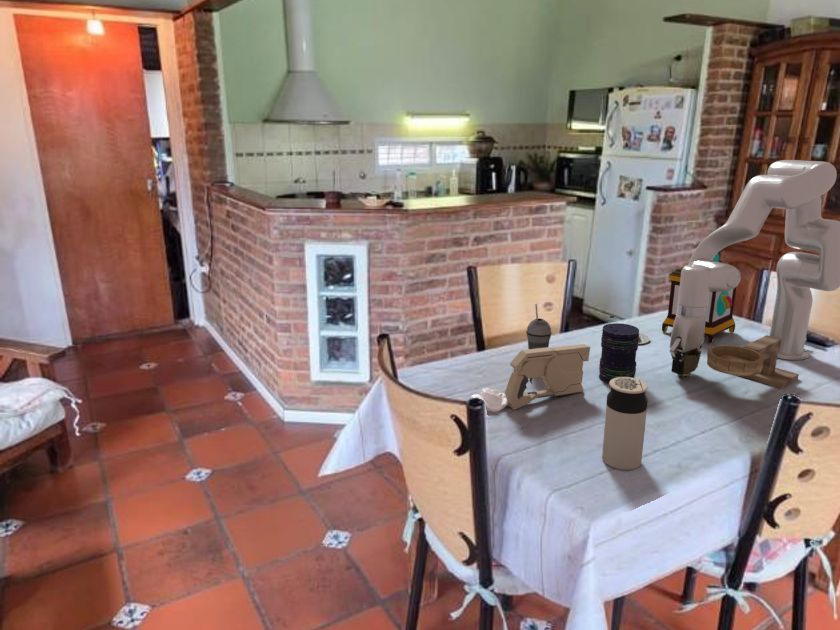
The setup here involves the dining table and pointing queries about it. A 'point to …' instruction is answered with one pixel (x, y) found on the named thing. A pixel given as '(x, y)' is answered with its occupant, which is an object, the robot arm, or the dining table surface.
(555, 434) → the dining table surface
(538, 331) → the beverage cup
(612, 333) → the storage jar
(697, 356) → the cup
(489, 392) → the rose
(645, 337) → the beige low round piece
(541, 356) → the gun
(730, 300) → the decorative lantern
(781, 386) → the rail cup bracket
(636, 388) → the travel mug
